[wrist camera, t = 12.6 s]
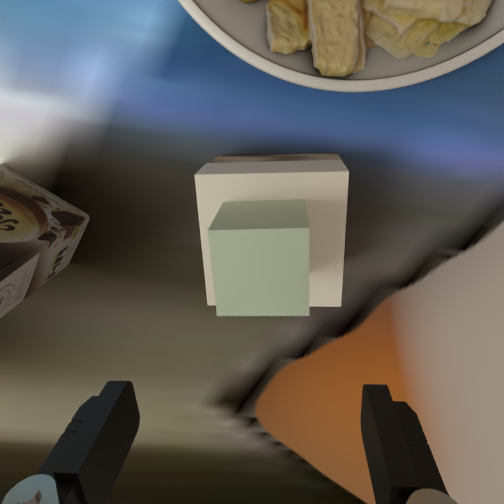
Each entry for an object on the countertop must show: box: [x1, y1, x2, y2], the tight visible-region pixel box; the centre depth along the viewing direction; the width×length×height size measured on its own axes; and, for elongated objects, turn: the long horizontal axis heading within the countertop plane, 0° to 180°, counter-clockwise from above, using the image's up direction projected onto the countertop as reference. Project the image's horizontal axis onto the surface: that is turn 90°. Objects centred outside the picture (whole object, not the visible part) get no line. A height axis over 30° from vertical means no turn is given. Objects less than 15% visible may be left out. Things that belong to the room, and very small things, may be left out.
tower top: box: [195, 160, 349, 307], centre depth 29 cm, size 10×10×4 cm
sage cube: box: [208, 199, 309, 316], centre depth 24 cm, size 6×6×6 cm
